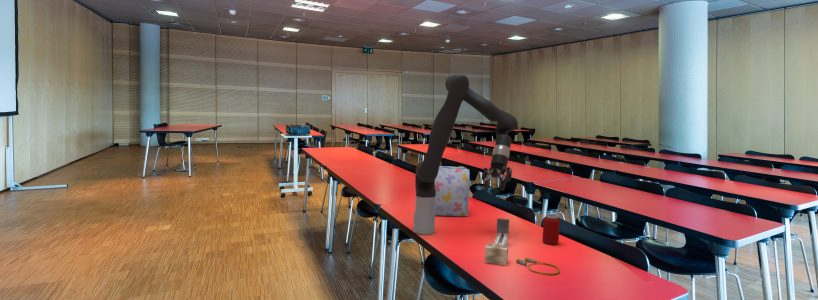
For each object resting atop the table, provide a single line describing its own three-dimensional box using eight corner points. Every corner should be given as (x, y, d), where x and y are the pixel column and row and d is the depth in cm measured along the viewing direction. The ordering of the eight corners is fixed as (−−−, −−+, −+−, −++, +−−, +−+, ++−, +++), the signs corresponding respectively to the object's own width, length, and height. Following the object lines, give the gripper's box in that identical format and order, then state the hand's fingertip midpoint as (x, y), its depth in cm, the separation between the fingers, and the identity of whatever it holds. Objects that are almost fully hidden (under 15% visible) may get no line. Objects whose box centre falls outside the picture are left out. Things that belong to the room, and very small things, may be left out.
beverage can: (559, 242, 192) (560, 215, 191) (557, 246, 186) (559, 219, 185) (543, 239, 195) (545, 213, 194) (541, 243, 189) (542, 217, 188)
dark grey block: (492, 252, 174) (493, 227, 173) (497, 239, 191) (498, 217, 190) (504, 253, 172) (506, 228, 171) (508, 241, 189) (509, 218, 188)
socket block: (484, 262, 164) (485, 247, 163) (486, 257, 169) (487, 242, 169) (506, 265, 161) (506, 249, 161) (507, 260, 167) (508, 245, 166)
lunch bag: (464, 210, 248) (466, 164, 246) (470, 217, 231) (472, 168, 229) (425, 209, 247) (427, 163, 244) (428, 217, 230) (430, 167, 228)
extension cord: (541, 260, 170) (541, 255, 170) (566, 275, 155) (567, 269, 155) (513, 262, 166) (514, 257, 166) (537, 278, 151) (537, 272, 151)
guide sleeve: (492, 253, 175) (493, 243, 174) (497, 242, 190) (497, 233, 189) (504, 254, 173) (504, 245, 173) (507, 243, 188) (508, 234, 188)
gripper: (483, 154, 202) (476, 186, 197) (509, 152, 192) (502, 186, 187) (492, 160, 207) (485, 192, 202) (518, 159, 197) (511, 192, 192)
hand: (493, 189), depth 194 cm, fingers open, 8 cm apart
